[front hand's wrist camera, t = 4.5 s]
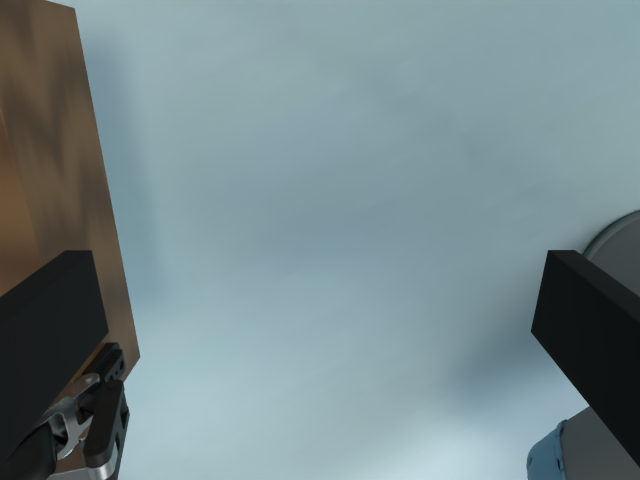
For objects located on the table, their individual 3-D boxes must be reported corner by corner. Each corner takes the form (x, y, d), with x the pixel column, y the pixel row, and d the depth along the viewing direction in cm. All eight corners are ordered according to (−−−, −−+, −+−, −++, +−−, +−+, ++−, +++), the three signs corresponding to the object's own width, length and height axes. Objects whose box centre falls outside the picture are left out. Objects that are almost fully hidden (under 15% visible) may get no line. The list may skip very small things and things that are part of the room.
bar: (2, 9, 27) (-137, -20, 19) (74, 8, 27) (-34, -22, 19) (86, 357, 36) (17, 438, 28) (140, 357, 36) (87, 438, 28)
